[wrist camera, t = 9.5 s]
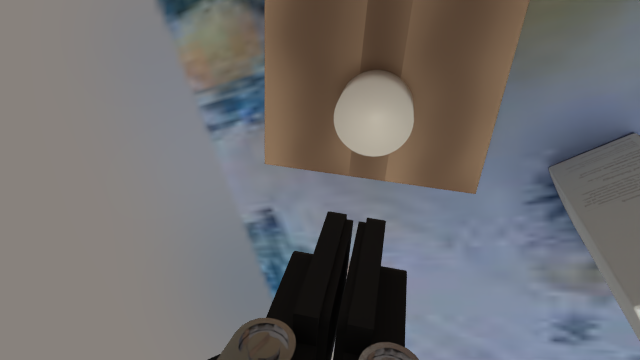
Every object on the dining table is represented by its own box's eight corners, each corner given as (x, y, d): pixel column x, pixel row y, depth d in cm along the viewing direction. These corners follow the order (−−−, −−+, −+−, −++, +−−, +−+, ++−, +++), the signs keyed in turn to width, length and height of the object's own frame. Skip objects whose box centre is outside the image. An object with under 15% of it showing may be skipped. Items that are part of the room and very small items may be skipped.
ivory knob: (418, 59, 27) (420, 85, 22) (407, 123, 29) (406, 161, 24) (351, 52, 28) (337, 76, 22) (345, 115, 30) (330, 151, 24)
